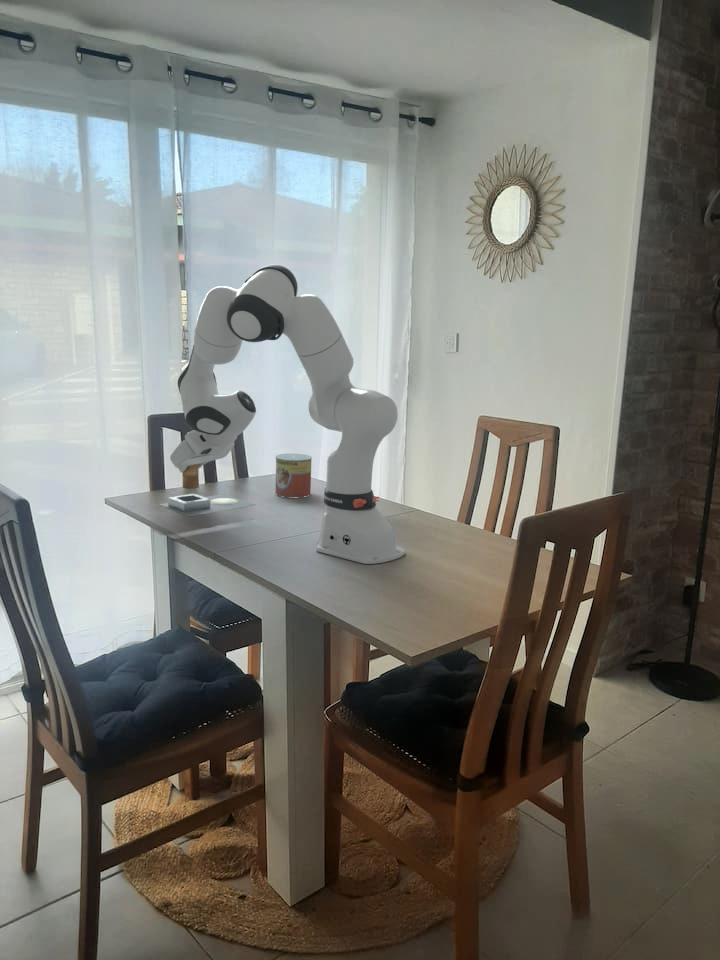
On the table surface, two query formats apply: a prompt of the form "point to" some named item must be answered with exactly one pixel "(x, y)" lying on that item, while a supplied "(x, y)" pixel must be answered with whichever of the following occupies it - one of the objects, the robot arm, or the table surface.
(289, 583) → the table surface
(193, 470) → the plug
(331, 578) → the table surface
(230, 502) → the base plate
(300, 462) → the canned food
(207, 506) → the collar
